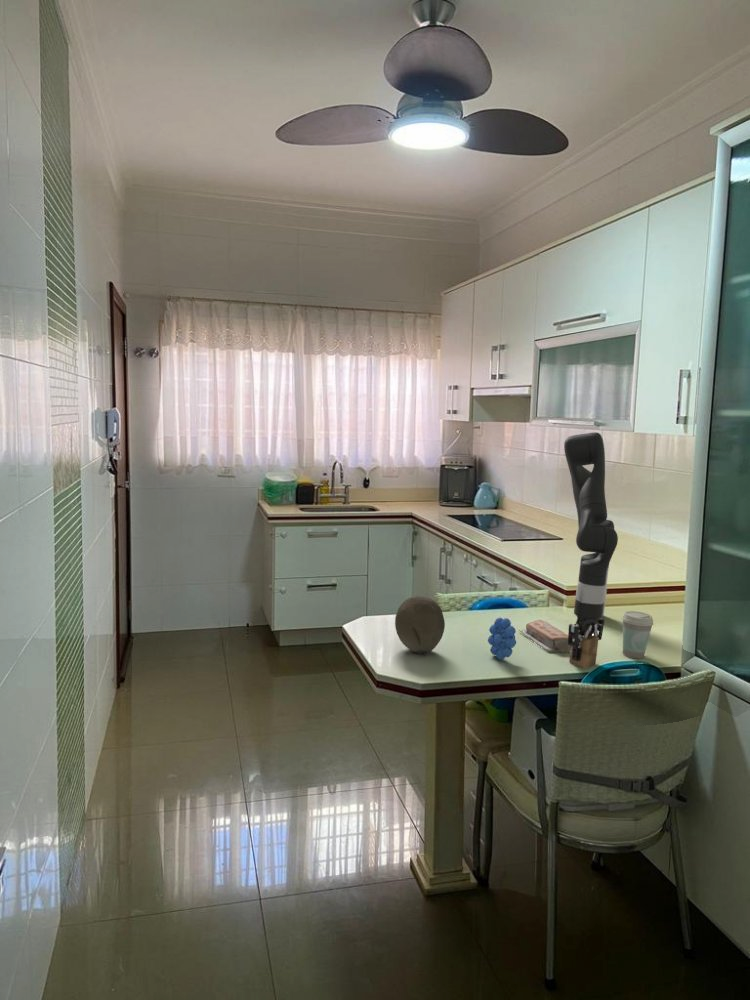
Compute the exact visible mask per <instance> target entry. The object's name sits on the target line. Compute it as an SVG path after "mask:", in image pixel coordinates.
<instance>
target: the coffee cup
mask: <svg viewBox="0 0 750 1000" xmlns="http://www.w3.org/2000/svg"><path fill="white" fill-rule="evenodd" d="M621 620H622V654H623V656H625V657H628V658H631V659H638V660H639V659H644V658H645V654H646V650H647V646H648V643H649V639H650V635H651V631H652V626H654V619H653V616H652V615H651V614H648V613H646V612H641V611H634V610H628V611H625V612H624V614H623V616H622V618H621Z"/></svg>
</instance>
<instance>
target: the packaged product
mask: <svg viewBox="0 0 750 1000" xmlns="http://www.w3.org/2000/svg"><path fill="white" fill-rule="evenodd" d="M519 631H520V632H521V633H522V634H523V635H522V634H521V635H522V636H524V635H525V636H526V637H528V638H529V639H530V640H532V641H533V642H535V643H536V644H537V645H536V644H535V645H536V646H538V645H539V646H540V647H539V646H538V647H539V648H541V647H542V648H543V650H544V649H545V650H546V651H547V652H546V651H545V650H544V651H545V652H546V653H548V652H556V653H565V652H564V651H571V645H568V634H566V633H565V632H564V631H562V630H561V629H558V628H557V627H556V626H554V625H552V624H550V623H549V622H547V621H545V620H542V619H537V620H534V621H531V622H528V623H526V626H525V629H522V630H520V629H518V632H519ZM525 636H524V637H525ZM526 637H525V638H526ZM528 638H527V639H528ZM529 639H528V640H529ZM530 640H529V641H530ZM532 641H531V642H532ZM533 642H532V643H533ZM542 648H541V649H542Z"/></svg>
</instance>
